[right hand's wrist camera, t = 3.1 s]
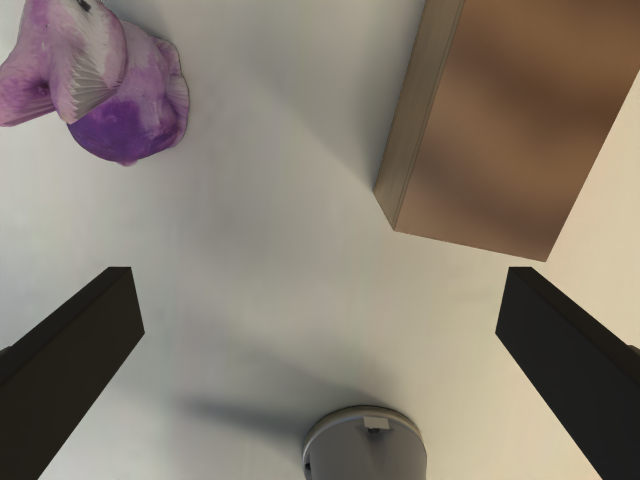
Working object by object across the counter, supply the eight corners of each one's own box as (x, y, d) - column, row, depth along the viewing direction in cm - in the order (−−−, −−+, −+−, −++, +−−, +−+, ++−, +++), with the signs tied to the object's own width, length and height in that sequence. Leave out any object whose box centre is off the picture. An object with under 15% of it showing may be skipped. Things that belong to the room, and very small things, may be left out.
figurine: (152, -3, 29) (-8, -96, 15) (221, 121, 32) (145, 142, 18) (57, 56, 30) (-170, 23, 16) (133, 169, 33) (-1, 221, 19)
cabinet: (447, -79, 27) (518, -176, 17) (587, -40, 28) (728, -112, 18) (372, 193, 34) (393, 231, 25) (484, 217, 35) (546, 262, 26)
